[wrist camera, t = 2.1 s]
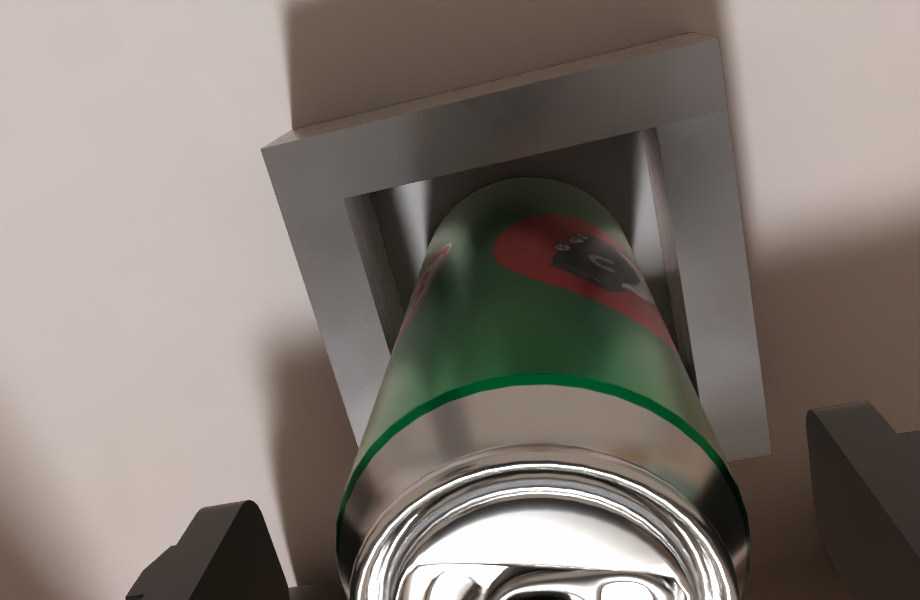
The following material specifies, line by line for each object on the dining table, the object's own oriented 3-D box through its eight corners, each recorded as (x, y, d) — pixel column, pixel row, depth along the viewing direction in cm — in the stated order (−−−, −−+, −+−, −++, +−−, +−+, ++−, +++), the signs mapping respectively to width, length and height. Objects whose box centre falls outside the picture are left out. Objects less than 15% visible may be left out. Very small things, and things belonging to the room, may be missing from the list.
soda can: (410, 186, 19) (268, 448, 8) (621, 157, 19) (774, 397, 8) (443, 374, 21) (361, 801, 10) (638, 353, 21) (782, 780, 9)
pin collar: (291, 130, 19) (260, 148, 17) (691, 32, 18) (718, 38, 15) (396, 464, 22) (382, 519, 20) (743, 403, 21) (772, 454, 19)
